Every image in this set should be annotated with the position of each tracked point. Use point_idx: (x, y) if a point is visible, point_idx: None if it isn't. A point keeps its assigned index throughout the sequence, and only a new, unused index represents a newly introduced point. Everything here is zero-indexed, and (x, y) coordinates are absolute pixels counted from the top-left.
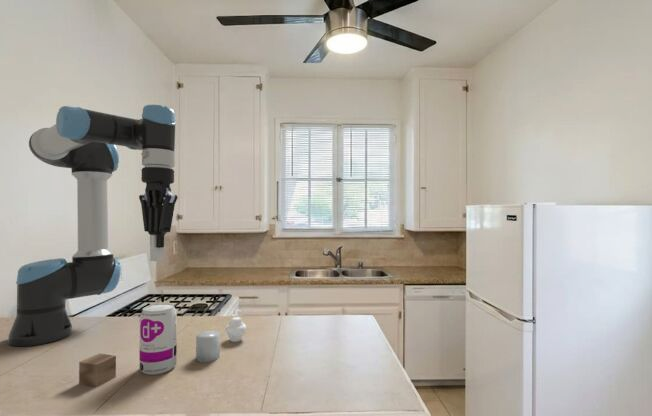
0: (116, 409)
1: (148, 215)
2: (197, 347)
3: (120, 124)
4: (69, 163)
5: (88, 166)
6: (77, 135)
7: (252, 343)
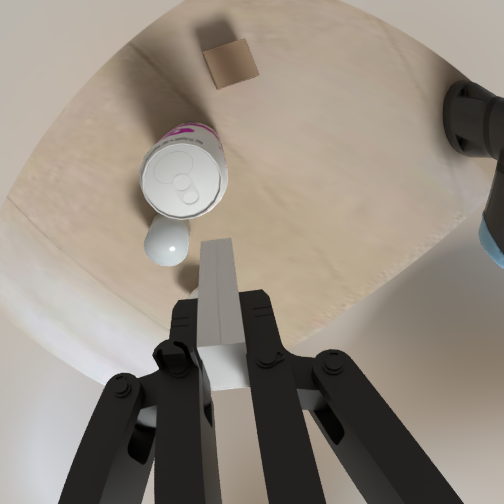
0: (109, 62)
1: (370, 478)
2: (167, 218)
3: None
4: None
5: None
6: None
7: (171, 298)
